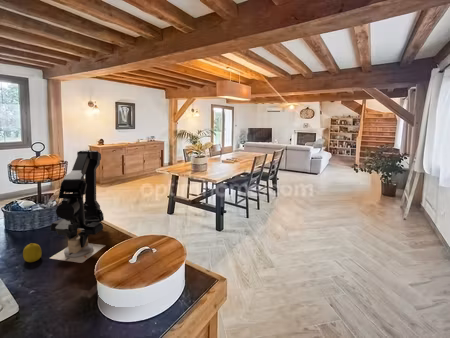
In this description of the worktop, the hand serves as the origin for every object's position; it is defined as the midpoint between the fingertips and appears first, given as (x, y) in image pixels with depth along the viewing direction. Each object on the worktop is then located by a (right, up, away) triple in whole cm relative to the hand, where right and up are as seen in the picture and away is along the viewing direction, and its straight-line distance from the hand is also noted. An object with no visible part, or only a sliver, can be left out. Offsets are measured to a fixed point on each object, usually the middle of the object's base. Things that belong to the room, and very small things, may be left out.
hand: (78, 246), depth 102 cm
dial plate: (0, -3, +1) cm, 4 cm away
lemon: (-14, -5, -6) cm, 15 cm away
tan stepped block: (0, -2, 0) cm, 2 cm away
